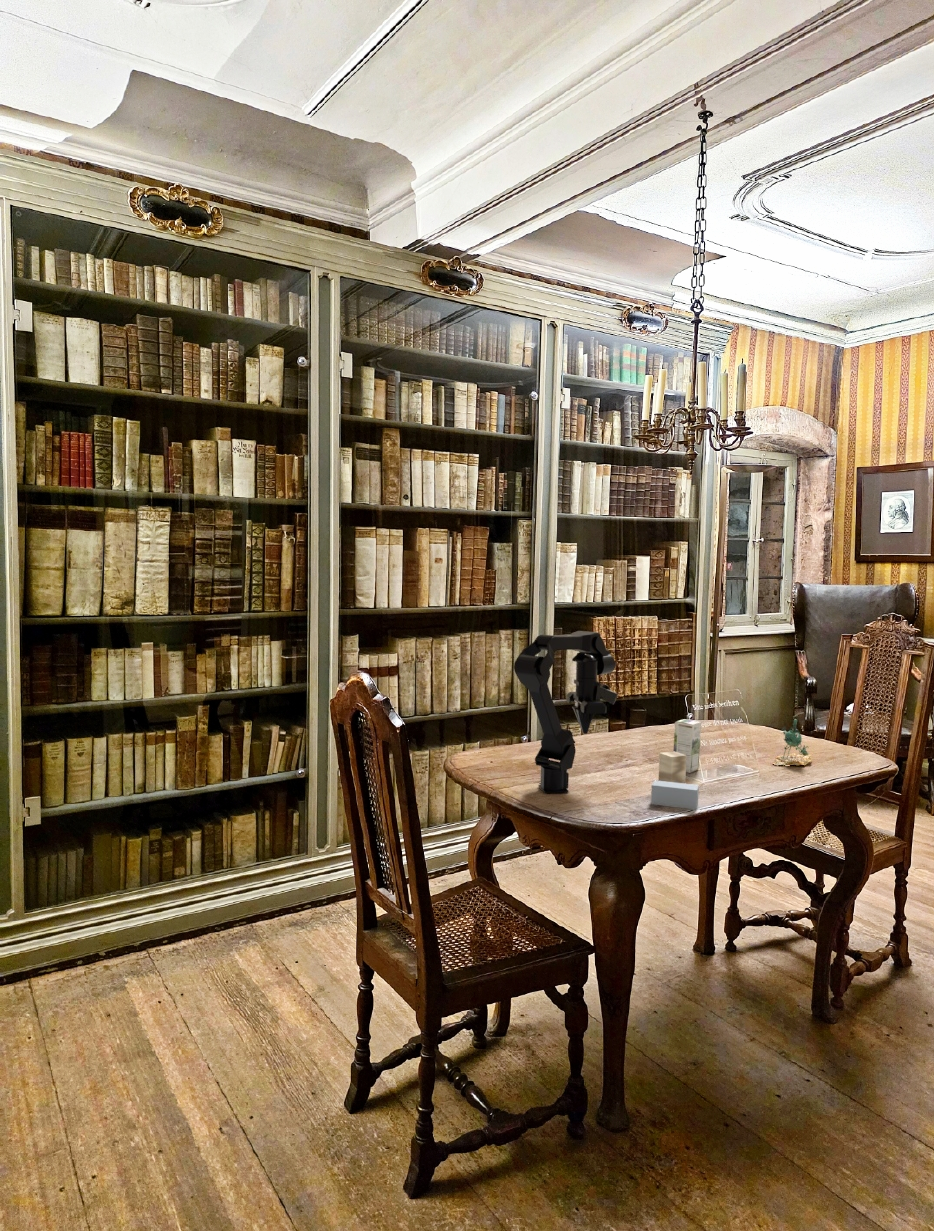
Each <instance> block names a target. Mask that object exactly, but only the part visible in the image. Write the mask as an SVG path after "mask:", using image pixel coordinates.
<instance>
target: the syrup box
mask: <svg viewBox="0 0 934 1231" xmlns="http://www.w3.org/2000/svg"><path fill="white" fill-rule="evenodd" d="M701 731H702V722H701V721H698V720H696V719H695V720H694V719H688V718H686V719H685V718H684V719H683V718H682V719H680V720H677V721H674V736H673V751H675V752H678V753H681V754H684V755H686V773H688V774H692V773H694V772H696V771H698V770H699V768H700V764H699V763H700V750H701V748H700V747H701Z"/></svg>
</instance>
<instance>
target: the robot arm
mask: <svg viewBox="0 0 934 1231" xmlns="http://www.w3.org/2000/svg"><path fill="white" fill-rule="evenodd" d="M570 650H571V651H574V652H577V653H576V654H575V655H574V656H573V657H572V660H571V661H572V662H576V666H575V667H576V668H575V678H574V679H573V683H574V684H575V691H568V693H567V694H566V702H567V703H568V704H571V703H572V702H574V705H571V708H572V709H573V712H574V714H575V717H576V719H577V722H578V724H579V727H580V729H581V731H582V734H588V732H589V729H590V725H591V722H592V721H593V720H592V719H593V718H594V716H596V714H597V715H598V714H599V715H601V714H607V712H608V711H607V710H608V709H607V708H608V707H607V705H606V704H605V703H604V702H603V701H605V702H608V703H609V704H611V705H615V703H616V700H617V698H618V695H619V693H617V692H615V691H613V690H611V689H610V686H609V685H608V684H605V683H601V682H600V681H598V676H601V675H607V674H608V675H609V674H611V673H613V672H614V671H615V669H616V666H617V664H616V663H617V662H616V660H615V658H614V656H612V655H611V651H610V650H609V649H607V648H606V645H605V643H604V640H603V638H602V637H601V633H600V632H596V631H584V630H577V631H575V632H572V633H571V634H569V635H568V634H563V635H562V634H561V635H558V634H557V635H555V634H553V635H551V634H540V635H537V636H536V638H535V639H534V641H533V642H531V643H530V644H529V645H528V646H526V647H525V648H523V649H522V650H521V652H520V653H519V655H518V656H517V658H516V659H515V661H514V665H513V669H514V673H515V675H516V677H517V679H518V680H519V683H521V684H522V685H523V686H524V687H525V688H526V689H527V691H529V694H530V697H531V701H532V704H533V706H534V710H535V712H536V716H537V718H538V721H539V724H540V727H541V730H542V738H541V741H540V746H541V747H540V748H539V750H538V752H537V754H536V756H535V757H534V762H535V766H539V767H540V784H538V786H537V787H538V788H539V789H540V790H541V791H542V792H543V793H544V794H564V793H565V794H566V793H569V780H570V779H569V777H570V776H569V775H570V774H569V773H568V770H570V769H572V768H573V764H574V761H575V756H576V752H577V751H576V750H577V749H576V745H575V744H576V741H575V739H574V737H573V732H572V731H571V730H569V729H564V728H563V727H562V724H561V722H560V719H559V716H558V712H557V709H556V707H555V704H554V700H553V698H552V694H551V691H550V688H549V685H548V683H549V680H550V677H551V671H550V670H551V668H552V667H553V665H554V663H555V652H556V651H570ZM541 651H546V654H545V656H539V655H538V654H540V653H541ZM537 655H538V656H537ZM601 700H603V701H601Z"/></svg>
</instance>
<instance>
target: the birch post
mask: <svg viewBox="0 0 934 1231" xmlns="http://www.w3.org/2000/svg"><path fill="white" fill-rule="evenodd" d="M658 758H659V760H658V780H657V781H666V782H675V783H684V784H686V775H687V774H686V773H687V772H686V755H684V754H681V753H678V752H675V751H674V750H673V751H665V752H664V751H663V752H659V757H658Z"/></svg>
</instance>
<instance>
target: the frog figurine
mask: <svg viewBox="0 0 934 1231" xmlns="http://www.w3.org/2000/svg"><path fill="white" fill-rule="evenodd" d="M797 723H798V719H796V718H794V720H793V724H792V727H790V729H789V731H787V728H786V727H782V728H781V731H782V734H783V736H784V738H783V740H784V742H785V743H786V744H787V745H786V746H785V747H784V748H783V749H784V753H783V755H778V756H775V757H774V759H773V762H772V763H773V764H779V765H796V766H800V765H804V766H806V765H808V764H810V763H811V762H812V754H809V753H808V751H807V749H809V746H808V745H806V746H805V744H803V746H802V741H803V740H802V734H801V732H800V731H799V728H798V729H797ZM792 747H793V748H795V750H796V751H798V752H799V753H798V754H797V753H790V751H791V748H792ZM806 748H807V749H806ZM787 749H789V750H788V752H787ZM786 752H787V754H786Z"/></svg>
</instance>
